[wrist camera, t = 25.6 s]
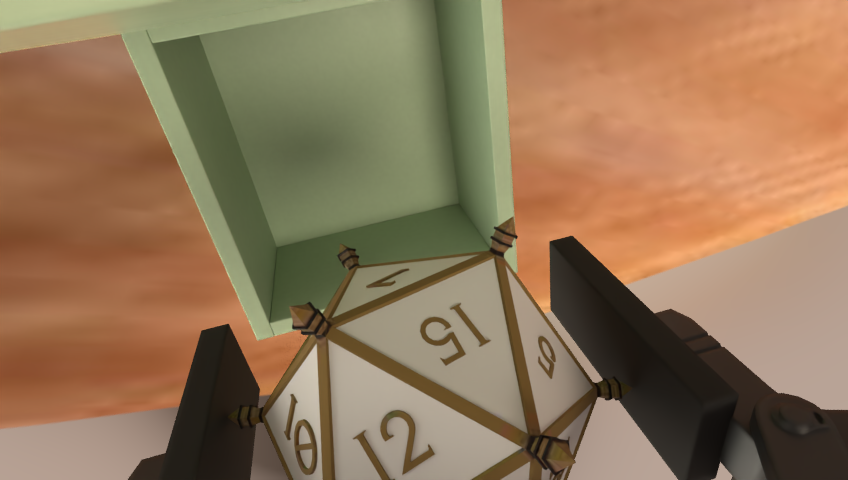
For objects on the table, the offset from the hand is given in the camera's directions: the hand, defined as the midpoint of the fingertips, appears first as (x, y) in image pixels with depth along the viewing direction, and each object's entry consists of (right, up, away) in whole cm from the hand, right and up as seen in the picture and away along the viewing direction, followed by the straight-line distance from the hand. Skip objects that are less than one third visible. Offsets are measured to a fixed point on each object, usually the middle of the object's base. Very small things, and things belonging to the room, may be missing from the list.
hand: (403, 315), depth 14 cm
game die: (0, 0, +1) cm, 1 cm away
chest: (-5, +10, +18) cm, 21 cm away
